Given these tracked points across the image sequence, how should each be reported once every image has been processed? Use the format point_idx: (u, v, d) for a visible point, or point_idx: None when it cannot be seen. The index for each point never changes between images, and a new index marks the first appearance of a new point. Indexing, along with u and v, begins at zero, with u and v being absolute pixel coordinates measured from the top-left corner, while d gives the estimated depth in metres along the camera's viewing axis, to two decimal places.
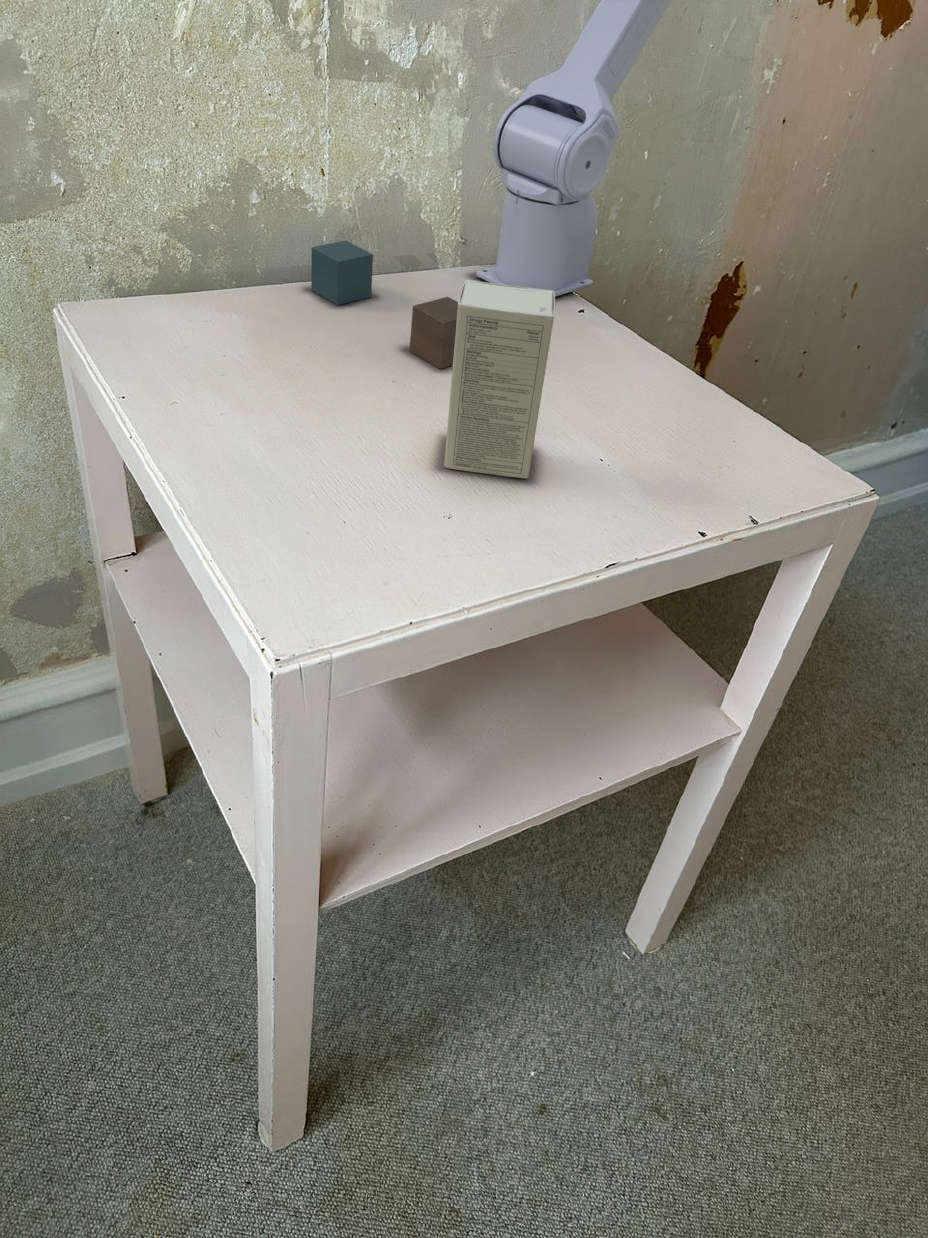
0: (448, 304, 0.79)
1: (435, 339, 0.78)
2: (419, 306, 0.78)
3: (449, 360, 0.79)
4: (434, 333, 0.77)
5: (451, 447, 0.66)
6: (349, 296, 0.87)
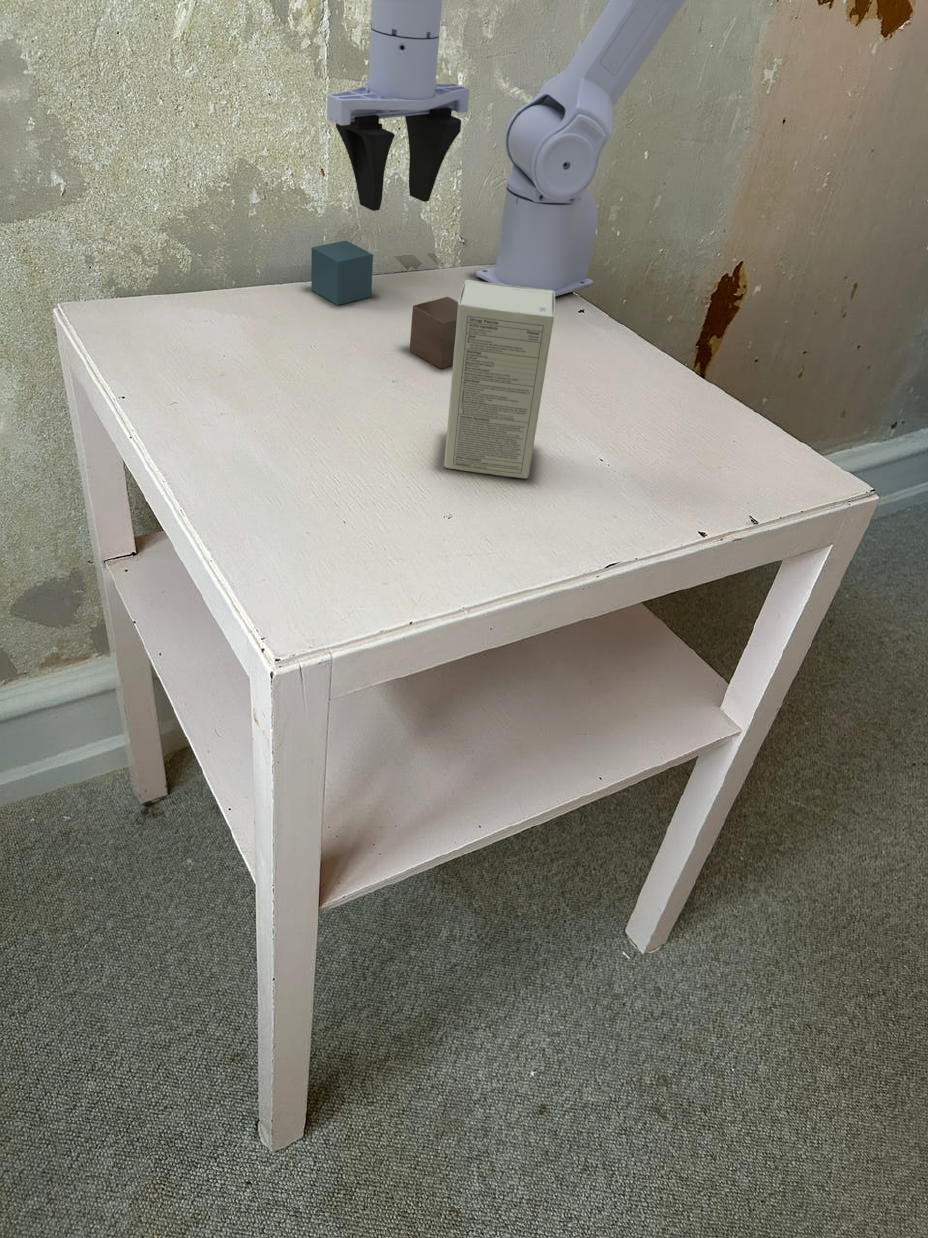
0: (448, 304, 0.79)
1: (435, 339, 0.78)
2: (419, 306, 0.78)
3: (449, 360, 0.79)
4: (434, 333, 0.77)
5: (451, 447, 0.66)
6: (349, 296, 0.87)
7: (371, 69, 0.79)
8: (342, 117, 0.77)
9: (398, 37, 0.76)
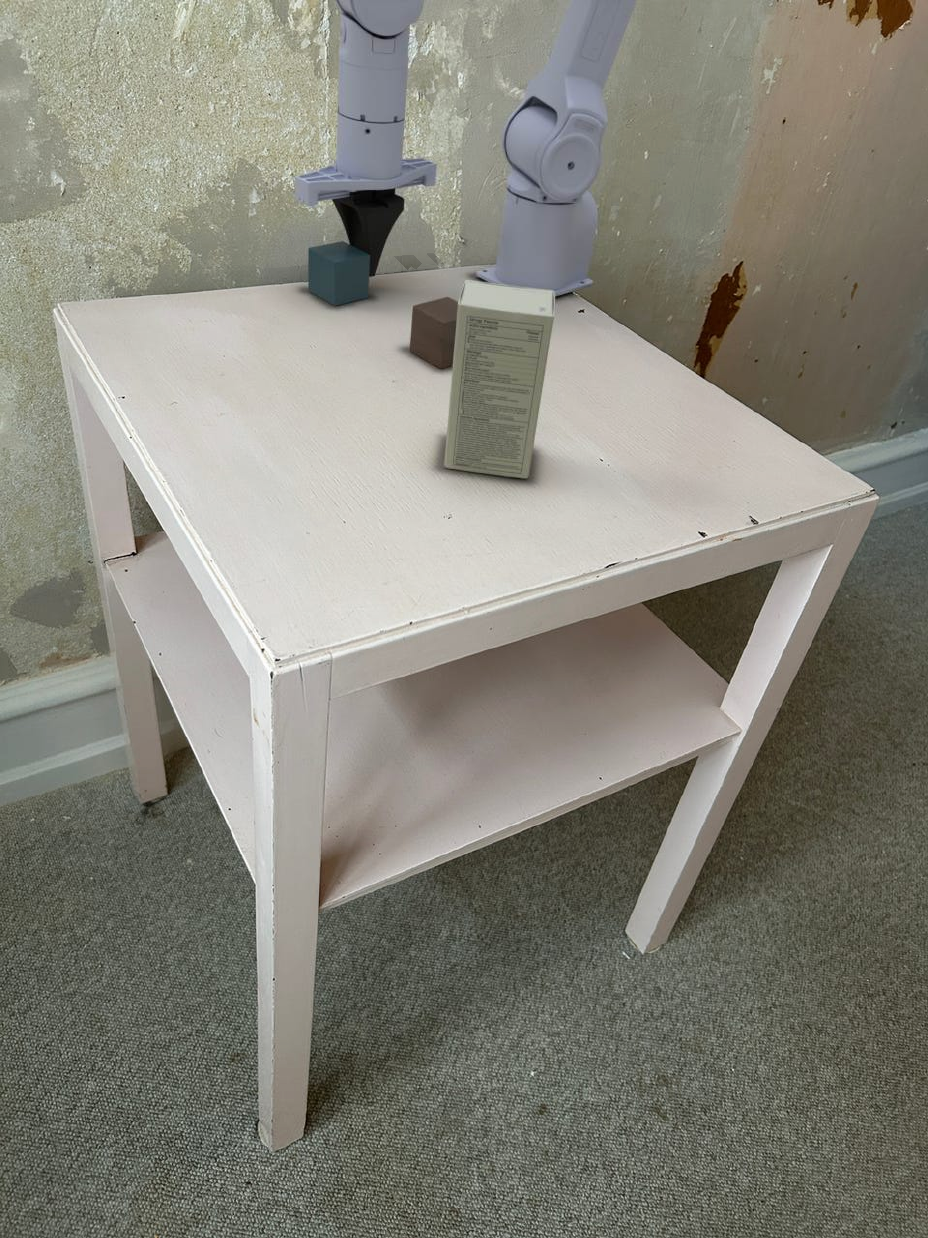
0: (448, 304, 0.79)
1: (435, 339, 0.78)
2: (419, 306, 0.78)
3: (449, 360, 0.79)
4: (434, 333, 0.77)
5: (451, 447, 0.66)
6: (346, 297, 0.86)
7: (338, 150, 0.81)
8: (309, 198, 0.79)
9: (363, 122, 0.78)
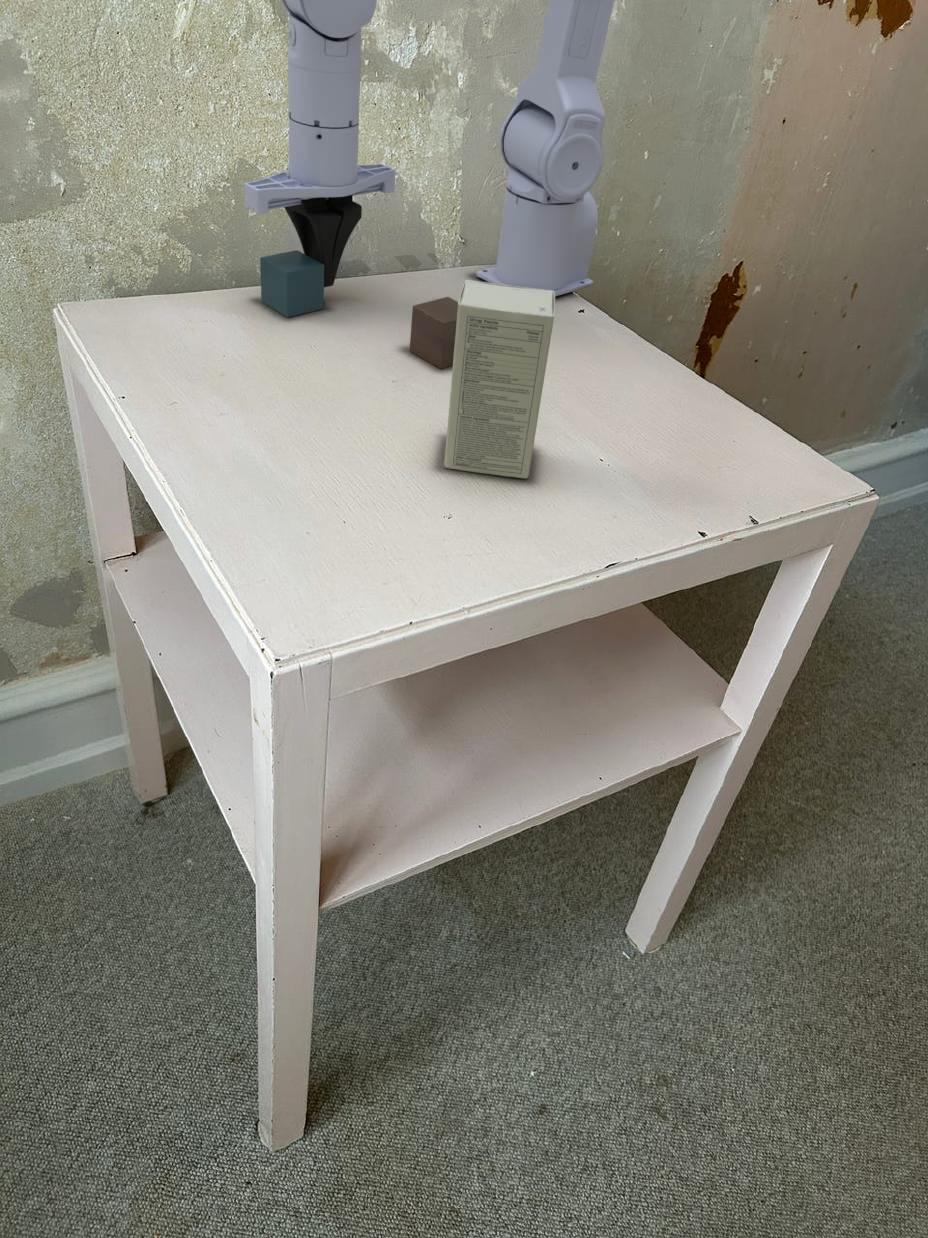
0: (448, 304, 0.79)
1: (435, 339, 0.78)
2: (419, 306, 0.78)
3: (449, 360, 0.79)
4: (434, 333, 0.77)
5: (451, 447, 0.66)
6: (300, 308, 0.83)
7: (290, 156, 0.78)
8: (259, 206, 0.76)
9: (314, 127, 0.75)
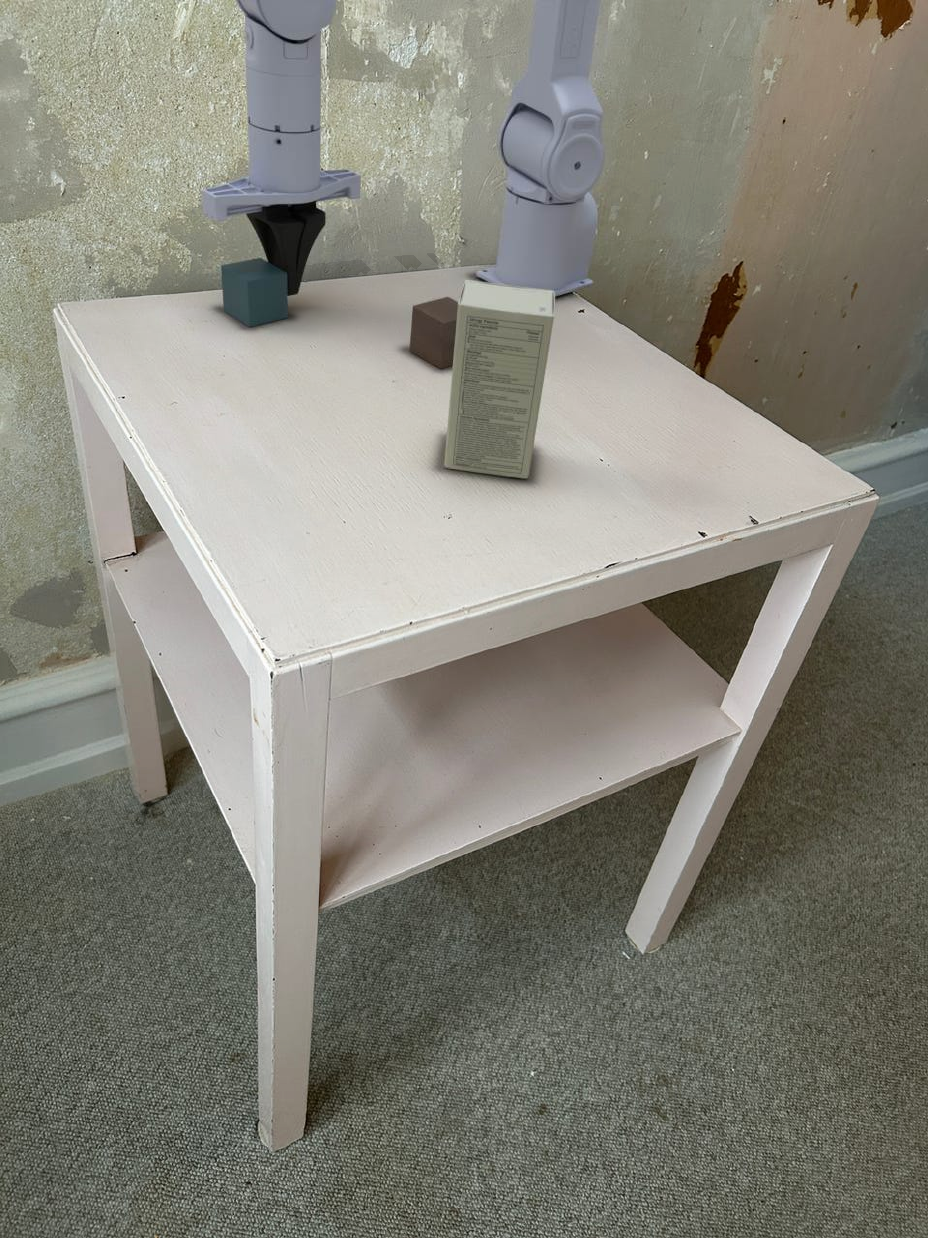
0: (448, 304, 0.79)
1: (435, 339, 0.78)
2: (419, 306, 0.78)
3: (449, 360, 0.79)
4: (434, 333, 0.77)
5: (451, 447, 0.66)
6: (262, 317, 0.81)
7: (250, 161, 0.76)
8: (217, 213, 0.74)
9: (273, 132, 0.73)
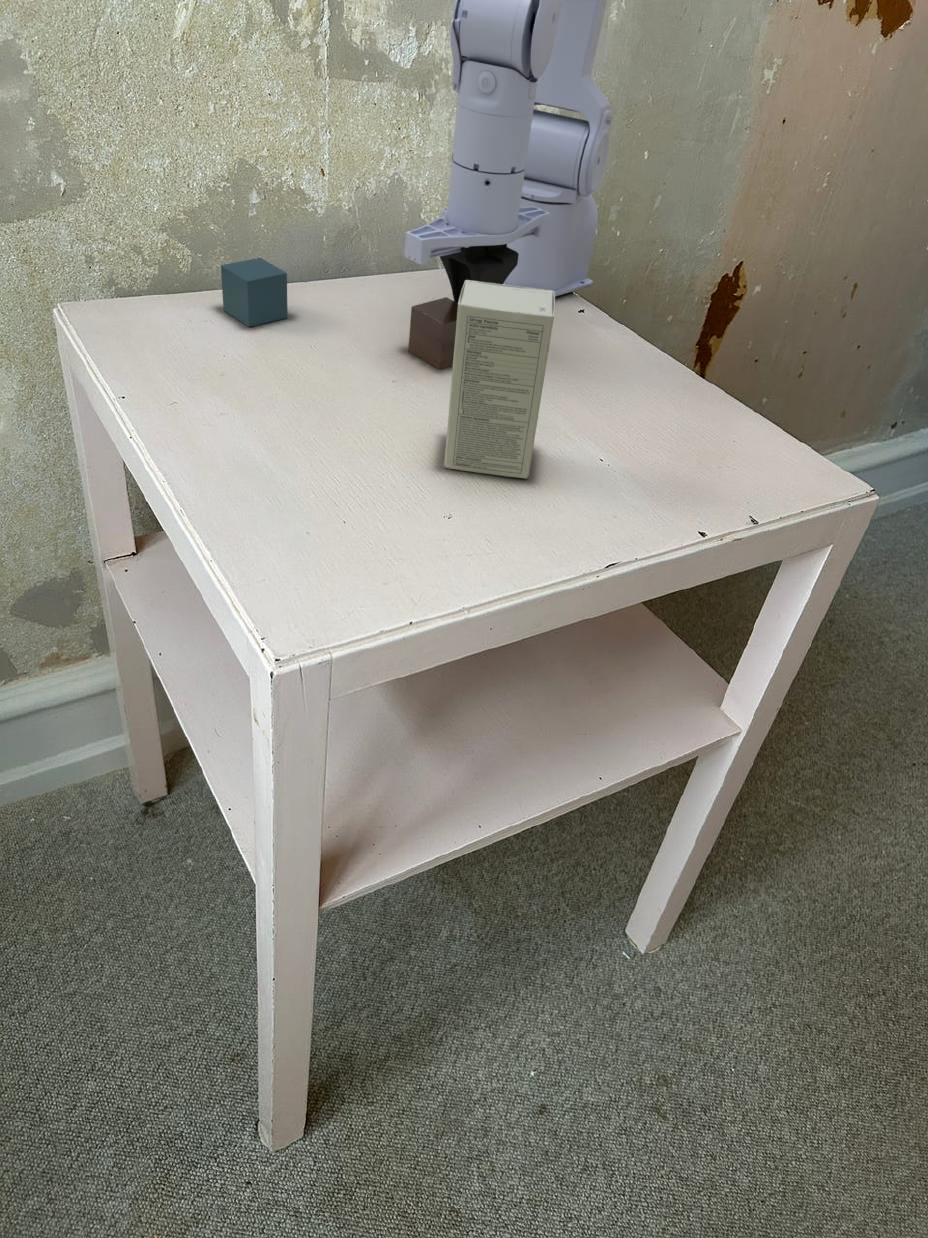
0: (447, 305, 0.79)
1: (433, 340, 0.78)
2: (418, 307, 0.78)
3: (448, 361, 0.79)
4: (433, 333, 0.77)
5: (451, 447, 0.66)
6: (262, 317, 0.81)
7: (451, 202, 0.73)
8: (422, 257, 0.72)
9: (484, 173, 0.71)
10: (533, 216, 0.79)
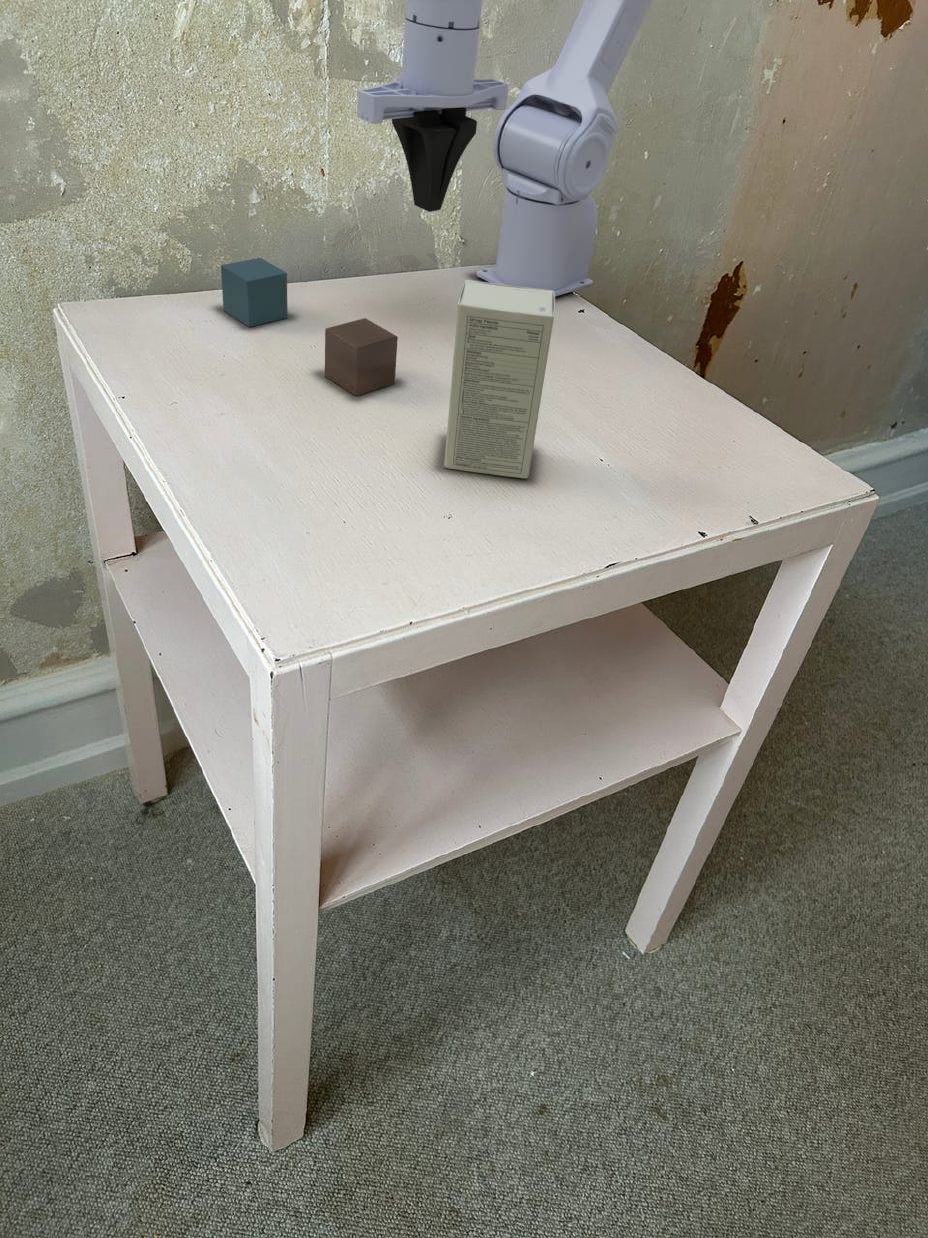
0: (364, 326, 0.74)
1: (348, 364, 0.72)
2: (332, 329, 0.73)
3: (366, 386, 0.74)
4: (348, 358, 0.72)
5: (451, 447, 0.66)
6: (262, 317, 0.81)
7: (405, 63, 0.73)
8: (374, 115, 0.71)
9: (436, 28, 0.70)
10: (491, 87, 0.78)
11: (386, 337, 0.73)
